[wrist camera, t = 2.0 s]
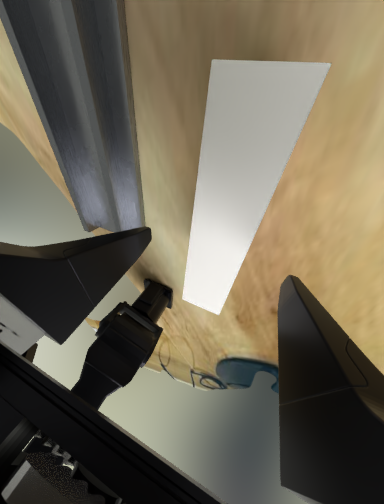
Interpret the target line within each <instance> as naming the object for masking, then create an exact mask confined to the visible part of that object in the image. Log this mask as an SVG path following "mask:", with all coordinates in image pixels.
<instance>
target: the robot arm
mask: <svg viewBox="0 0 384 504" xmlns="http://www.w3.org/2000/svg"><path fill="white" fill-rule="evenodd" d="M151 239H152V236H151V228H149V227H146V226H144V227H139V228H134V229H129V230H124V231H120V232H115V233H110V234H105V235H100V236H95V237H92V238H86V239H81V240H75V241H70V242H63V243H57V244H50V245H44V246H36V247H27V246H19V245H14V244H8V243H3V242H0V504H227V503H226V502H225V501H223V500H222V499H221V498H219V497H218V496H216V495H215V494H214V493H212V492H211V491H209V490H208V489H207V488H205V487H204V486H202V485H201V484H200V483H198V482H197V481H195V480H194V479H192V478H191V477H190V476H188V475H187V474H186V473H184V472H183V471H182V470H180V469H179V468H177V467H176V466H174V465H173V464H172V463H170V462H169V461H168V460H166V459H165V458H163V457H162V456H161V455H159V454H158V453H156V452H155V451H154V450H152V449H151V448H149V447H148V446H147V445H145V444H144V443H142V442H141V441H140V440H138V439H137V438H135V437H134V436H133V435H131V434H130V433H128V432H127V431H126V430H124V429H123V428H122V427H120V426H119V425H117V424H116V423H114V422H113V421H112V420H110V419H109V418H108V417H106V416H105V415H104V414H102V413H101V412H99V411H98V409H99V407H100V406H101V404H102V403H103V401H104V400H105V398H106V397H107V396H109V395H110V394H112V393H113V392H115V391H116V390H117V389H119V388H120V387H124V386H126V385H127V384H128V383H129V382H130V381H131V380H132V378H133V377H134V375H135V374H136V372H137V370H138V369H139V367H141V368H142V367H143V366H144V365H145V364H146V362H147V361H148V359H149V358H150V356H151V354H152V353H153V351H154V348H155V346H156V344H157V342H158V340H159V337H160V335H161V333H162V331H163V328H161V327H159V326H158V325H156V323H157V321H158V320H159V318H160V316H161V315H162V313H163V311H164V310H165V308H166V307H167V308H170V309H171V307H172V297H173V291H172V290H171V289H169V288H167V287H165V286H162V285H160V284H158V283H155V282H153V281H151V280H148V279H144V287H145V290H144V291H143V292H142V293H141V295H140V296H139V297H138V298H137V300H136V301H135V302H134V303H133V304H132V306H130V305H129V304H127V302H126V301H124V303H121V302H120V303H119V304H118V305H117V306H116V307H115V308H114V309H113V310H112V311H111V312H110V313H109V314H108V315H107V316H106V317H105V318H103V319H102V320H101V321H100V323H99V328H98V331H97V332H96V334H95V335H96V336H97V337H98V338H97V339H96V340H95V342H94V343H93V344H92V345H91V346H90V347H89V349H88V351H87V355H86V358H85V362H84V365H83V369H82V372H81V376H80V379H79V381H78V382H77V383H76V384H75V386H74V387H73V388H72V389H71V391H70V390H69V389H67V388H66V387H65V386H63V385H62V384H60V383H59V382H57V381H56V380H55V379H53V378H52V377H51V376H49V375H47V374H46V373H45V372H44V371H42V370H41V369H39V368H38V367H37V366H35V365H34V364H33V363H32V362H33V359H34V356H35V352H36V349H37V346H38V344H37V343H36V342H37V341H38V340H39V339H40V338H42V337H43V336H44V335H46V336H47V337H49V338H50V339H52V340H53V341H55V342H57V343H58V344H60V345H62V344H63V343H64V342H65V341H66V340H67V339H68V337H69V336H70V335H71V334H72V333H73V332H74V331H75V329H76V328H77V327H78V326H79V325H80V324H81V323H82V322H83V320H84V319H85V318H86V317H87V316H88V315H89V314H90V312H91V311H92V310H93V309H94V308H95V307H96V306H97V304H98V303H99V302H100V301H101V300H102V299H103V298H104V296H105V295H106V294H107V293H108V292H109V291H110V290H111V288H113V286H114V285H115V284H116V283H117V282H118V281H119V280H120V278H121V277H122V276H123V275H124V274H125V273H126V272H127V271H128V269H129V268H130V267H131V266H132V265H133V264H134V263H135V262H136V260H137V259H138V258H139V257H140V256H141V254H142V253H143V251H144V250H145V249H146V247H147V246H148V244H149V243H150V241H151ZM120 313H121V314H122V315H120ZM278 362H279V404H280V405H279V426H280V477H281V478H280V479H281V486H282V487H284V488H285V489H287V490H288V491H290V492H291V493H293V494H295V495H296V496H298V497H299V498H301V499H302V500H304V501H305V502H307V503H309V504H384V375H383V374H382V373H381V372H380V371H379V370H378V369H377V368H376V367H375V366H374V365H373V363H372V362H371V361H370V360H369V359H368V358H367V357H366V356H365V355H364V353H363V352H362V351H361V350H360V349H359V348H358V347H357V345H356V344H355V343H354V342H353V341H352V340H351V339H350V338H349V336H348V335H347V334H346V333H345V332H344V330H343V329H342V328H341V327H340V326H339V325H338V323H337V322H336V321H335V320H334V319H333V318H332V316H331V315H330V314H329V313H328V312H327V311H326V309H325V308H324V307H323V306H322V305H321V304H320V302H319V301H318V300H317V299H316V298H315V297H314V295H313V294H312V293H311V292H310V291H309V290H308V289H307V287H306V286H305V285H304V284H303V283H302V282H301V280H300V279H299V278H298V277H296V276H293V275H289V276H287V278H286V279H285V280H284V282H283V283H282V284H281V287H280V295H279V303H278ZM33 436H34V438H33V439H32V437H33ZM31 439H32V440H31ZM30 440H31V441H30ZM29 441H30V443H29ZM28 443H29V444H28ZM27 444H28V445H27ZM26 445H27V447H26V448H25V446H26ZM24 448H25V449H24ZM23 449H24V450H23ZM22 450H23V451H22ZM63 463H64V464H66V465H71V466H74V469H73V470H72V469H71V468H69V467H68V466H62V465H63Z"/></svg>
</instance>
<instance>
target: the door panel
mask: <svg viewBox="0 0 384 504" xmlns="http://www.w3.org/2000/svg"><path fill="white" fill-rule="evenodd" d="M331 64H332V63H314V62H282V61H250V60H218V59H212V63H211V71H210V79H209V87H208V95H207V104H206V112H205V120H204V128H203V136H202V144H201V152H200V160H199V168H198V176H197V184H196V193H195V201H194V209H193V217H192V225H191V233H190V241H189V249H188V257H187V265H186V273H185V282H184V290H183V298H182V299H183V300H185V301H187V302H190V303H192V304H194V305H196V306H199V307H201V308H203V309H206V310H208V311H210V312H213V313H215V314H217V315H219V314H220V311H221V309H222V307H223V305H224V302H225V300H226V298H227V296H228V294H229V291H230V289H231V287H232V285H233V282H234V280H235V278H236V276H237V273H238V271H239V269H240V267H241V265H242V262H243V260H244V258H245V256H246V253H247V251H248V249H249V247H250V244H251V242H252V240H253V238H254V236H255V233H256V231H257V229H258V227H259V224H260V222H261V220H262V218H263V216H264V213H265V211H266V209H267V207H268V204H269V202H270V200H271V198H272V195H273V193H274V191H275V189H276V187H277V184H278V182H279V180H280V178H281V175H282V173H283V171H284V169H285V166H286V164H287V162H288V160H289V158H290V155H291V153H292V151H293V149H294V146H295V144H296V142H297V140H298V137H299V135H300V133H301V131H302V129H303V126H304V124H305V122H306V120H307V117H308V115H309V113H310V111H311V108H312V106H313V104H314V102H315V100H316V97H317V95H318V93H319V91H320V88H321V86H322V84H323V82H324V79H325V77H326V75H327V73H328V71H329V68H330V66H331Z"/></svg>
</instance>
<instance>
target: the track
mask: <svg viewBox="0 0 384 504" xmlns="http://www.w3.org/2000/svg"><path fill="white" fill-rule="evenodd" d="M0 18H1V21H2V23H3V26H4V28H5V31H6V33H7V36H8V38H9V41H10V43H11V46H12V48H13V51H14V54H15V56H16V59H17V61H18V64H19V66H20V69H21V71H22V74H23V76H24V79H25V81H26V84H27V86H28V89H29V91H30V94H31V96H32V99H33V101H34V104H35V106H36V109H37V112H38V114H39V117H40V119H41V122H42V124H43V127H44V129H45V132H46V134H47V137H48V139H49V142H50V144H51V147H52V149H53V152H54V154H55V157H56V159H57V162H58V164H59V167H60V170H61V172H62V175H63V177H64V180H65V182H66V185H67V187H68V190H69V192H70V195H71V197H72V200H73V202H74V205H75V207H76V210H77V212H78V215H79V217H80V220H81V222H82V225H83V227H84V230H85V231H88V232H91V231H93V230H95V229H97V228H99V227H101V228H104V229H107V230H109V231H112V232H120V231H124V230H129V229H134V228H139V227H144V226H145V217H144V207H143V196H142V186H141V176H140V165H139V155H138V144H137V134H136V123H135V113H134V103H133V92H132V82H131V71H130V61H129V50H128V40H127V29H126V19H125V9H124V0H0Z"/></svg>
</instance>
